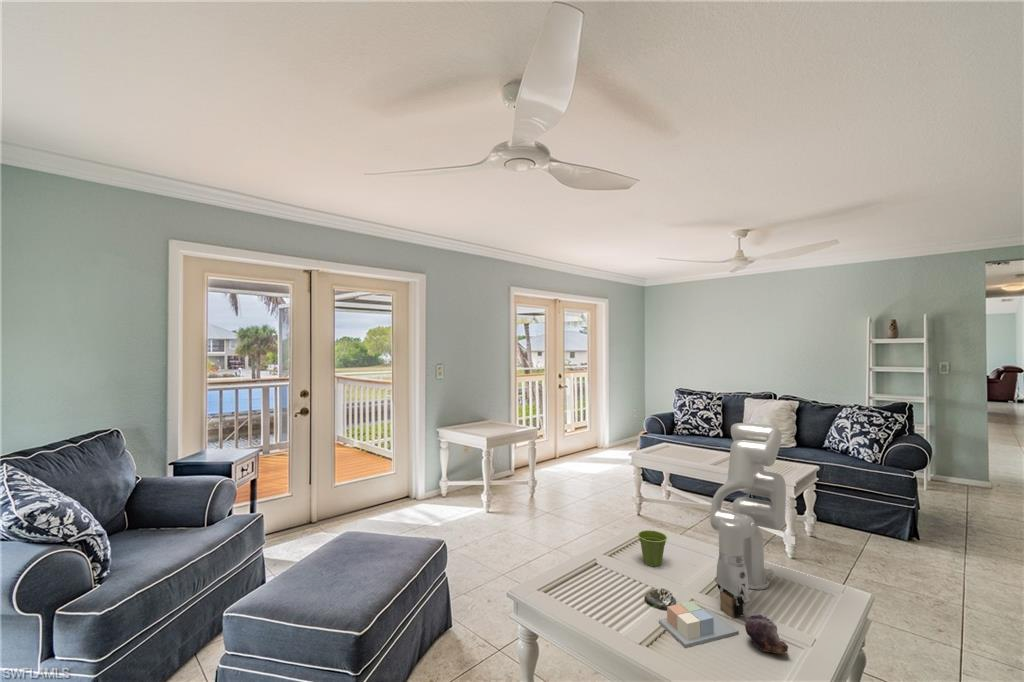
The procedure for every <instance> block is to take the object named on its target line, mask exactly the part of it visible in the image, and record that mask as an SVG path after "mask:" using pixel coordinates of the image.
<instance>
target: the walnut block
mask: <svg viewBox="0 0 1024 682" xmlns="http://www.w3.org/2000/svg"><path fill="white" fill-rule="evenodd" d="M719 595H720V596H719V597H720V600H719V601H720V603H719V604H720V605H719V606H720V607H719V608H720V611H721V612H722V613H724V614H725V615H727V616H728V617H729V618H731V619H733V618H736V617H735V616H734V604H735V599H734V595H733V594H731V593H730V592H728V591H724V592H720V591H719ZM739 600H740V597H738V601H739ZM744 614H745V613H744V605H743V615H742V616H743V617H744ZM738 617H740V616H738ZM738 617H737V618H738Z"/></svg>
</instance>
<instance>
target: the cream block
mask: <svg viewBox="0 0 1024 682" xmlns="http://www.w3.org/2000/svg"><path fill="white" fill-rule="evenodd" d="M677 631H678V632H680V633H681V634H682V635H683V636H684V637H685V638H686V639H687V640H688V639H692V638H696V637H700V620H699V619H698V618H696V617H695V616H694V615H693V614H691V613H690V612H688V613H684V614H679V615H677Z"/></svg>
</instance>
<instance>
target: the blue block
mask: <svg viewBox="0 0 1024 682" xmlns="http://www.w3.org/2000/svg"><path fill="white" fill-rule="evenodd" d="M690 613H691V614H693V615H694V616H695V617H696V618H698V619H699V620H700V636H704V635H708V634H712V633H714V618H713V617H712V616H711V615H709V614H708V613H707V612H706V611H704V609H703V608H702V610H697V611H693V612H690Z"/></svg>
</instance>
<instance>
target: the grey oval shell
mask: <svg viewBox="0 0 1024 682" xmlns="http://www.w3.org/2000/svg"><path fill="white" fill-rule="evenodd" d="M643 598H644V600H645V602H646V604H647V605H648V606H650V607H651V608H653V609H657V610H660V611H665V612H667V606H672V605H676V604H677V600H676V597H674V593H673V592H671V590H669V589H666V587H660V588H655V589H651V590H649V591H647V593H646V594H645V595H644V596H643Z"/></svg>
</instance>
